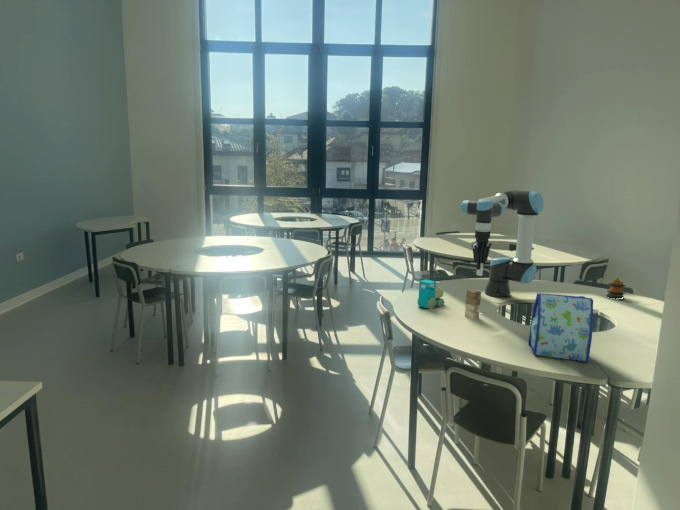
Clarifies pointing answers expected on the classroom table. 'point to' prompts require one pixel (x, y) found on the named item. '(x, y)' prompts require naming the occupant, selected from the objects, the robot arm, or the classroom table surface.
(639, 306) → the classroom table surface
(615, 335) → the classroom table surface
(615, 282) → the orange tiered tower
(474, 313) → the maple block
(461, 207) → the robot arm
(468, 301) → the walnut block
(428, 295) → the toy train
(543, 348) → the lunch bag
